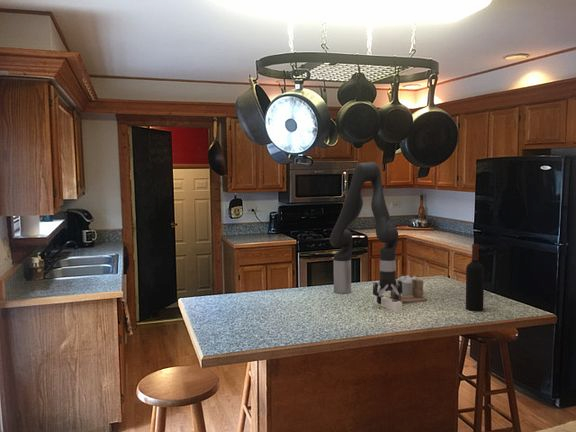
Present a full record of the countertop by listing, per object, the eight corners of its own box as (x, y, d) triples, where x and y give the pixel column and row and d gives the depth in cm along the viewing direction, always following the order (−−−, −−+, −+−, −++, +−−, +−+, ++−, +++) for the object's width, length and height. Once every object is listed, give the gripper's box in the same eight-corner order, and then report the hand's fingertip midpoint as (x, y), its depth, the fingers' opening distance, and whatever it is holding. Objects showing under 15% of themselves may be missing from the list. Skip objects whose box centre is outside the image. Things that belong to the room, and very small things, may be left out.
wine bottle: (462, 309, 220) (463, 244, 218) (469, 305, 226) (470, 242, 223) (479, 312, 215) (480, 246, 213) (485, 308, 221) (487, 243, 218)
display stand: (386, 299, 240) (386, 280, 240) (416, 296, 245) (416, 277, 244) (396, 304, 231) (396, 284, 230) (427, 301, 235) (427, 281, 235)
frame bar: (373, 303, 234) (373, 294, 233) (379, 302, 235) (379, 294, 235) (396, 311, 220) (396, 302, 219) (402, 310, 221) (402, 301, 221)
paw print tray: (404, 296, 245) (404, 280, 244) (392, 290, 257) (392, 274, 257) (423, 295, 248) (423, 278, 247) (410, 289, 260) (410, 273, 259)
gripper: (397, 266, 231) (397, 299, 233) (370, 268, 228) (370, 302, 229) (405, 269, 224) (405, 303, 226) (377, 272, 220) (377, 306, 222)
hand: (387, 303), depth 227 cm, fingers open, 8 cm apart
